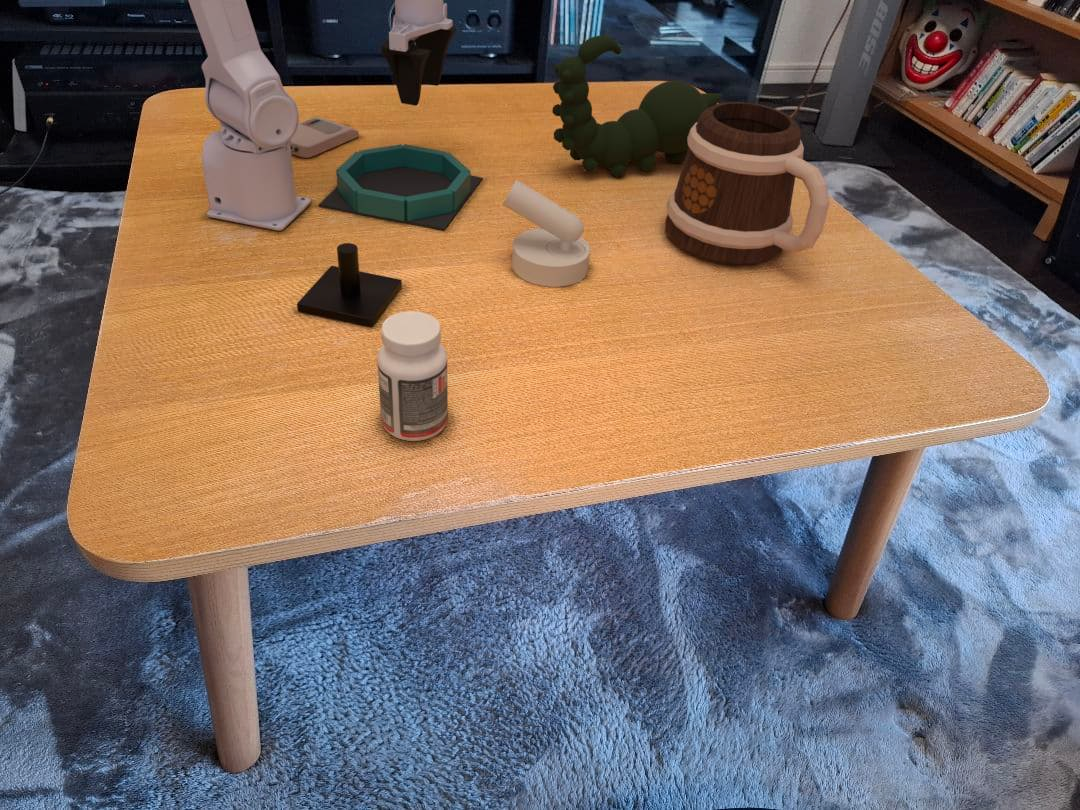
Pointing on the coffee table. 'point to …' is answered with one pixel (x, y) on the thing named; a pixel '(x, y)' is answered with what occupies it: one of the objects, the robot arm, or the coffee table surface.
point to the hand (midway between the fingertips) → (420, 93)
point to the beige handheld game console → (319, 136)
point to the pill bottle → (412, 376)
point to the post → (350, 291)
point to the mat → (402, 191)
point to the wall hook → (547, 240)
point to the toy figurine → (624, 117)
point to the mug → (743, 187)
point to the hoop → (402, 205)
